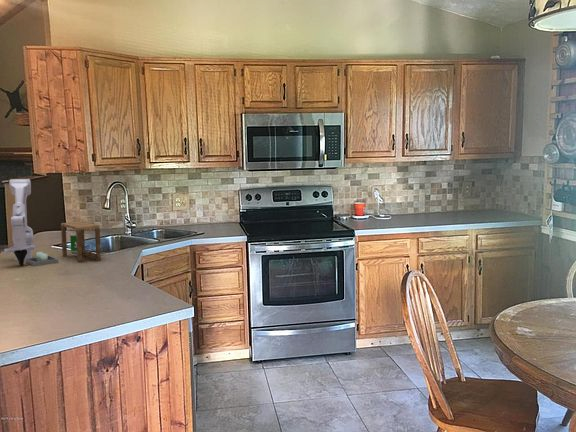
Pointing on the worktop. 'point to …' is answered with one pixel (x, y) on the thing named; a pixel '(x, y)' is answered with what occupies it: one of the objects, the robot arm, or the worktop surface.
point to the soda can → (73, 242)
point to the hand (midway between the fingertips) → (21, 264)
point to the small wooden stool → (81, 239)
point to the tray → (34, 261)
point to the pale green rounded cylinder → (38, 256)
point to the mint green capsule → (43, 257)
